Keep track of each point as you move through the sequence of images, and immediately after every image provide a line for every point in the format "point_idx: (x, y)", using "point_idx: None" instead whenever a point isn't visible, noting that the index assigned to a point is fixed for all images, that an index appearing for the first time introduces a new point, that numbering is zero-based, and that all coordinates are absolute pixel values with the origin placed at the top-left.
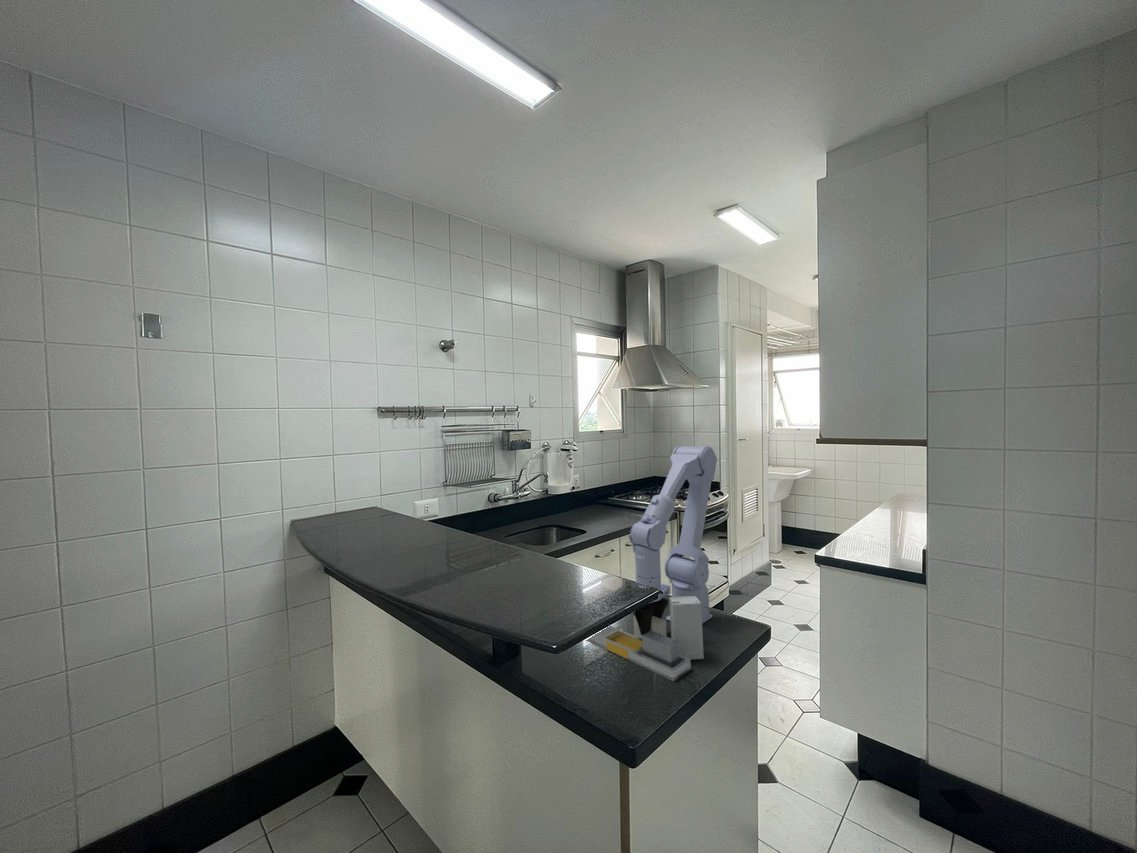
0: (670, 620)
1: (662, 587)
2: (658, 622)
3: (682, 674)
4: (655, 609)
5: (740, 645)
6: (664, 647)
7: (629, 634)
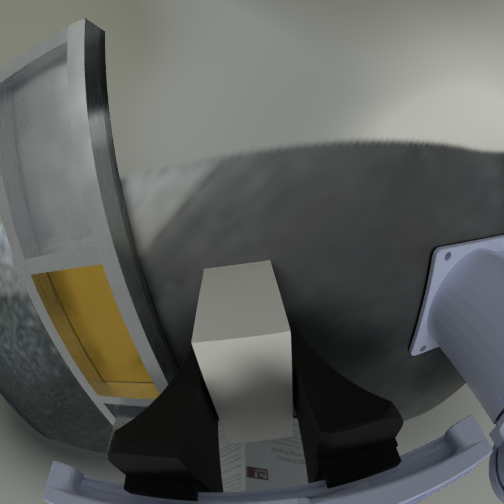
0: (245, 491)
1: (434, 490)
2: (249, 436)
3: None
4: (305, 435)
5: None
6: None
7: (135, 324)
